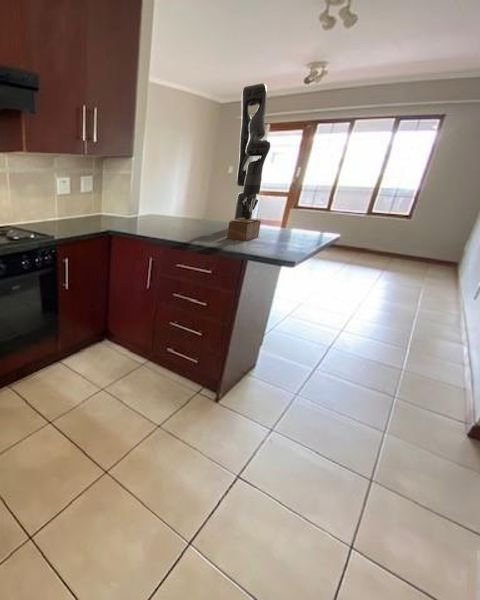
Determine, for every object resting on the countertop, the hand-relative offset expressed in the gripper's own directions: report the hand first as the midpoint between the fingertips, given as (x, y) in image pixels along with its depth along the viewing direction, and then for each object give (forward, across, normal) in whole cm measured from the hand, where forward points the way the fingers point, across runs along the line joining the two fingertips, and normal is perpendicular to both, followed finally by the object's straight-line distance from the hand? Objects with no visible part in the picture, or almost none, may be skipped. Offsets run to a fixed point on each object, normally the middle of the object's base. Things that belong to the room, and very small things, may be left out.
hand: (247, 218), depth 174 cm
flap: (0, -1, 0) cm, 1 cm away
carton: (+10, +2, 0) cm, 10 cm away
